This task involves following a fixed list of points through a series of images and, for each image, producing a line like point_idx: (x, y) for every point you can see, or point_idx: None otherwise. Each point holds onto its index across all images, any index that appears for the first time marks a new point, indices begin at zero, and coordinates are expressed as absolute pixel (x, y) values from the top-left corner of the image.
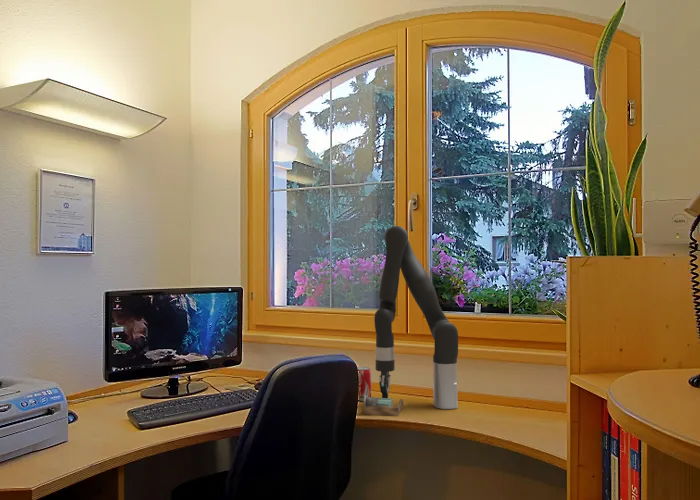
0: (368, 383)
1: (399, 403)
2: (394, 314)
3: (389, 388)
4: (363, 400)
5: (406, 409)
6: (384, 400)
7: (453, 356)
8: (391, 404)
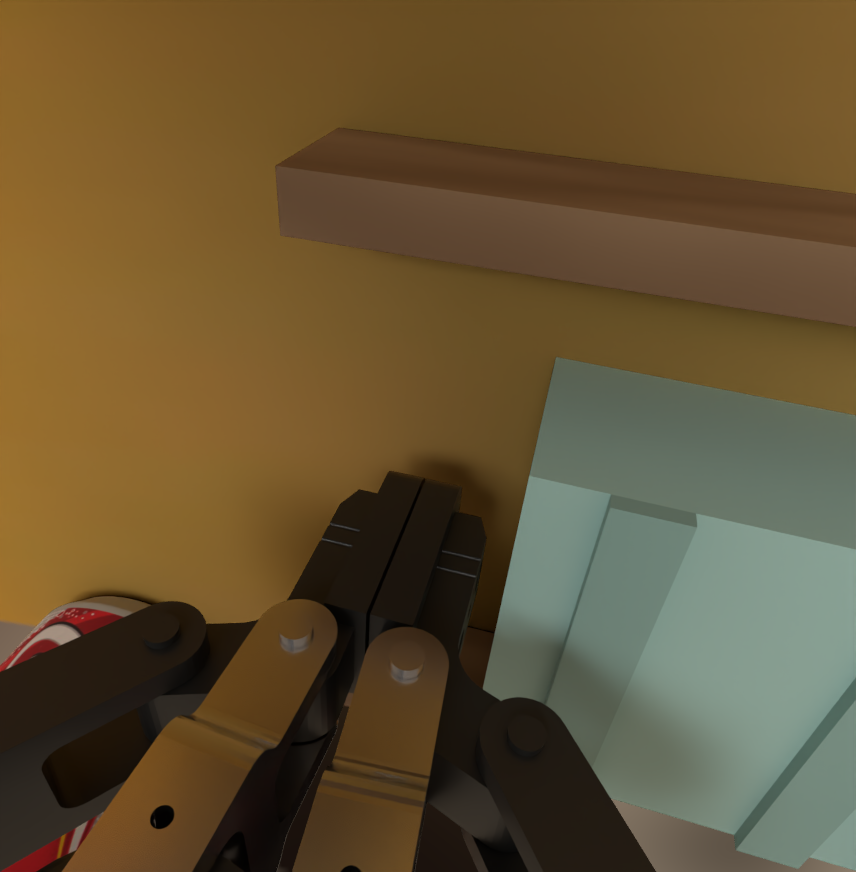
0: (33, 859)
1: (759, 277)
2: None
3: (164, 626)
4: None
5: (688, 22)
6: (727, 644)
7: None
8: (690, 444)
